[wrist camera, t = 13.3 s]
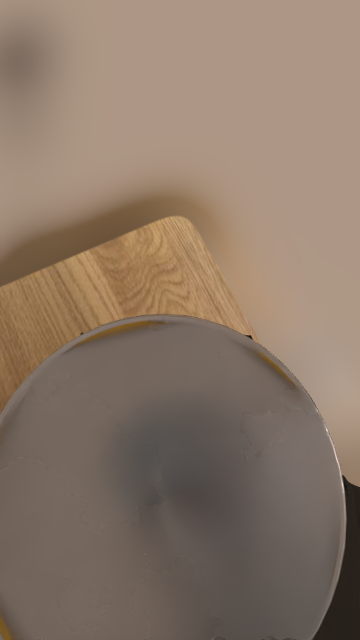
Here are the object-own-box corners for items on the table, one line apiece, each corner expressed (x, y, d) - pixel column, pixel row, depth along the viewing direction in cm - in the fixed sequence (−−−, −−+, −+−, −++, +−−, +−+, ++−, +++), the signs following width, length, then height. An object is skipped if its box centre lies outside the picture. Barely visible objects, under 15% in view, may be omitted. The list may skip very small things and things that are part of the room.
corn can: (219, 372, 19) (325, 315, 6) (222, 490, 17) (375, 734, 5) (112, 371, 19) (-1, 310, 6) (105, 490, 17) (-72, 749, 4)
